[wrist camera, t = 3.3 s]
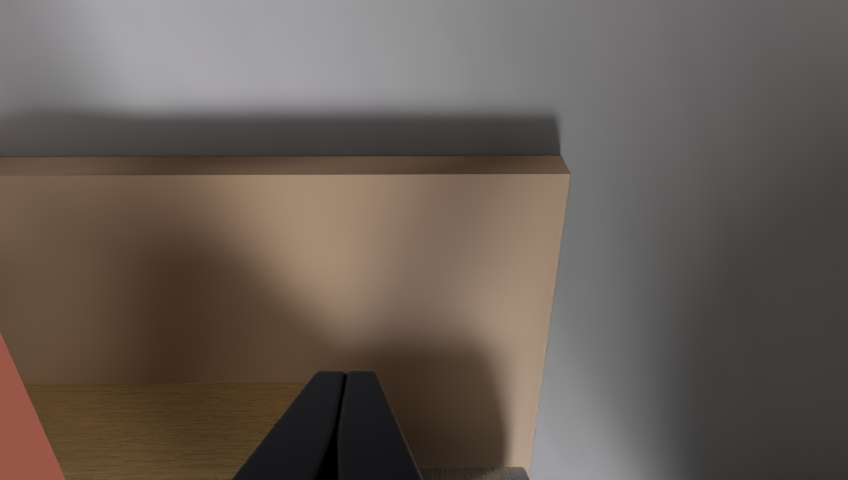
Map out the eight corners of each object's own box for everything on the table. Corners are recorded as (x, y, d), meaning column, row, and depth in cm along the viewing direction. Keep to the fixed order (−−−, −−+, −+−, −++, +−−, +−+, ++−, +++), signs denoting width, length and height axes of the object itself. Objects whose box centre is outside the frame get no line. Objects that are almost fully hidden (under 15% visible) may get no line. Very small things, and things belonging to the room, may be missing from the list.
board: (560, 155, 14) (570, 174, 13) (506, 581, 23) (510, 609, 22) (-328, 157, 14) (-376, 176, 13) (-40, 588, 23) (-58, 617, 22)
